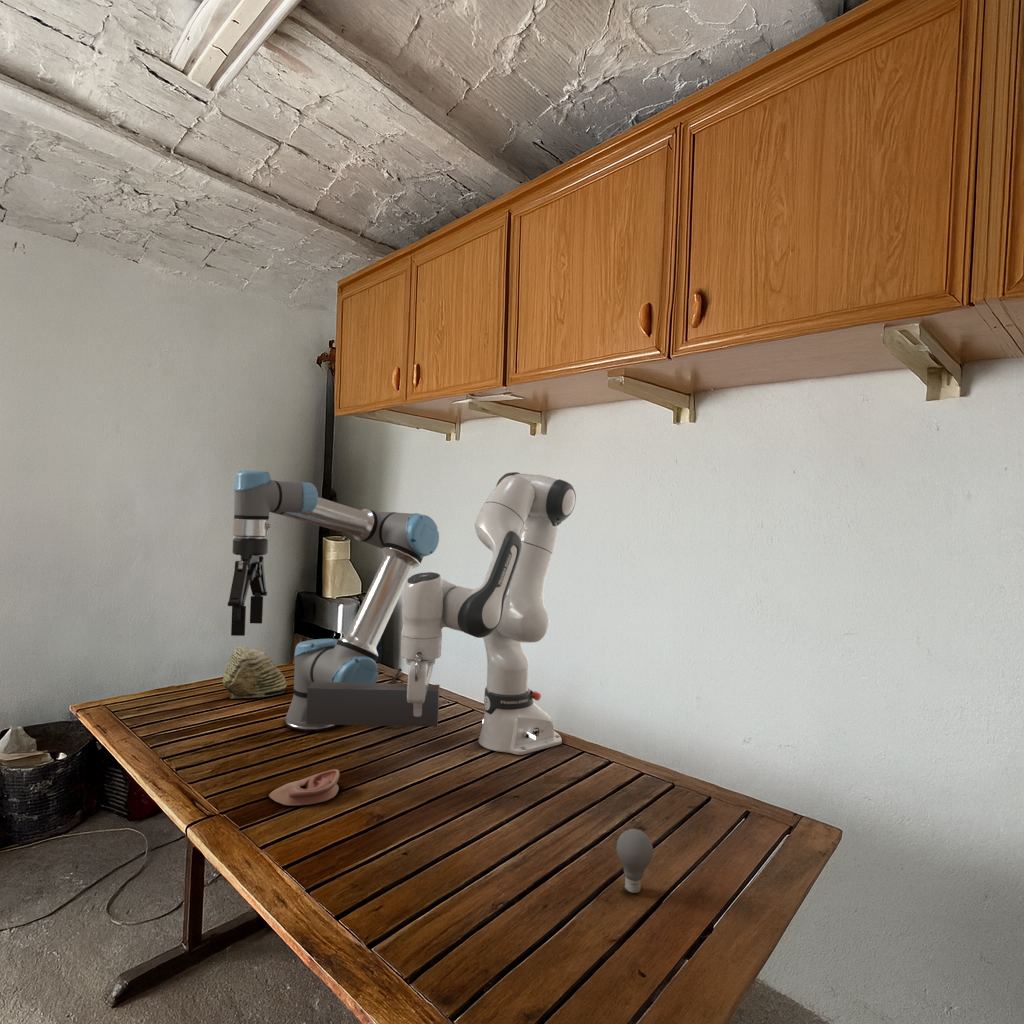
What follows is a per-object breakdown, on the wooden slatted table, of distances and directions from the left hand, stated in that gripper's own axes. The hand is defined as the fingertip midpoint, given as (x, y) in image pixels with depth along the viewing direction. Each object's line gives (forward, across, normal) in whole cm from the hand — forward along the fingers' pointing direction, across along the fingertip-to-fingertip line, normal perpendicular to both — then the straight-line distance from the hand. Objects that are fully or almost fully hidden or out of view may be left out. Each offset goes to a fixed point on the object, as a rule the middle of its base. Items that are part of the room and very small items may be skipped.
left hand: (247, 629), depth 146 cm
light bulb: (+32, -50, -78) cm, 98 cm away
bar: (+17, -12, -31) cm, 37 cm away
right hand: (+14, -13, -40) cm, 45 cm away
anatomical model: (+32, -15, -17) cm, 39 cm away
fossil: (+32, +53, +12) cm, 63 cm away
